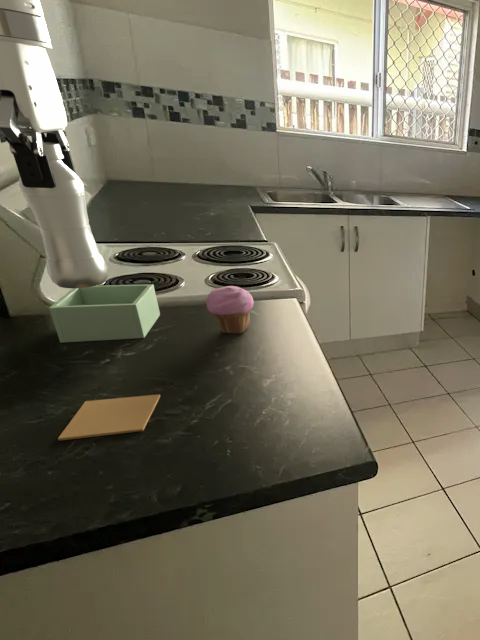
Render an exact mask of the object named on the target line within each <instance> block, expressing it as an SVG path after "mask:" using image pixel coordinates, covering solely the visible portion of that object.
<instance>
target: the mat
mask: <svg viewBox="0 0 480 640" xmlns="http://www.w3.org/2000/svg"><path fill="white" fill-rule="evenodd" d="M160 398H161V394H160V393H159V394H150V395H149V394H148V395H140V396H128V397H117V398H106V399H94V400H85V401H84V403H83V404H81V406H80V408H79V409H78V411H77V412H76V414H75V415H74V416H73V417H72V419H71V420H70V422H69V423H68V424H67V425H66V427H65V428H64V429H63V430H62V432H61V433H60V435H59V436H58V438H57V441H58V442H59V441H68V440H77V439H78V440H79V439H86V438H95V437H103V436H112V435H120V434H127V433H137V432H144V430H145V429H146V426H147V424H148V422H149V420H150V418H151V416H152V414H153V413H154V411H155V408H156V406H157V404H158V403H159V400H160Z"/></svg>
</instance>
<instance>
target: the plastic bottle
mask: <svg viewBox="0 0 480 640" xmlns="http://www.w3.org/2000/svg"><path fill="white" fill-rule="evenodd" d="M42 148H43V155H44V156H48V159H49V162H50V166H51V169H52V172H53V176H54V179H55V183H56V187H54V188H29V187H25V186H24V185H23V184H22V180H21V177H20V176H19V178H18V186H19V189H20V192H21V193H22V195H23V197H24V199H25V200H26V204H27V205H28V206H29V208H30V210H31V212H32V214H33V217H34V220H35V222H36V224H37V225H38V229H39V231H40V235H41V239H42V243H43V248H44V253H45V259H46V260H45V265H46V271H47V274H48V276H49V278H50V280H51V281H52V283H53V284H55V285H56V286H58V287H59V288H62V289H73V288H85V287H92V286H101V285H102V284H104V283H105V282H106V281H107V279H108V277H109V273H108V271H109V270H108V269H109V268H108V266H107V263H106V261H105V259H104V257H103V255H102V254H101V253H100V249H99V247H98V245H97V243H96V240H95V237H94V235H93V233H92V228H91V224H90V223H89V222H90V219H89V214H88V209H87V199H86V190H85V185H84V183H83V181H82V179H81V178H80V177H79V176H78V175H77V173H76V174H75V173H74V172H73V171H72V170H71V169H69V168H68V167H67V166H66V165H65V164H64V163H63V162H62V160H61V159H62V158H64V156H63V154H62V152H61V148H60V145H59V144H58V143H48V142H42Z"/></svg>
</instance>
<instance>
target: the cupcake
mask: <svg viewBox="0 0 480 640" xmlns="http://www.w3.org/2000/svg"><path fill="white" fill-rule="evenodd" d="M254 302H255V301H254V298H253V296H252V294H250V292H249V291H248V290H245V288H241V287H240V286H235V285H226V286H223V287H218V288H214V289H213V290H212V291H210V292H209V293H208V295H207V297H206V309H207V310H208V311H209V313H211V314H212V315H213V317H214V318H215V320H216V322H217V324H218V327H219V329H220V331H221V332H223V333H225V334H242V333H244V332H245V330H246V329H247V328H248V327H249V326H250V321H251V318H250V312H251V310H252V309H253V307H254V304H255V303H254Z"/></svg>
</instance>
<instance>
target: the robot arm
mask: <svg viewBox="0 0 480 640" xmlns="http://www.w3.org/2000/svg"><path fill="white" fill-rule="evenodd" d="M44 15H45V14H44V11H43V7H42V4H41V0H0V132H1V134H3V135H4V137H3V138H4V140H5V141H6V142H7V143H8V144H9V151H10V153H11V154H12V155H13V159H14V162H15V165H16V168H17V171H18V174H19V177H21V180H22V184H23V185H24V186H25V187H29V188H54V187H56V183H55V179H54V176H53V172H52V169H51V166H50V162H49V159H48V156H44V155H43V148H42V142H48V143H58V144H59V145H60V148H61V152H62V154H63V156H64V158H62V159H61V160H62V162H63V163H64V164H65V165H66V166H67V167H68V168H69V169H71V170H72V171H73V172H74V173H75V174H76V175H77V173H76V169H75V165H74V161H73V157H72V154H71V151H70V144H69V142H68V140H67V132H66V131H65V129H66V128H67V127H68V117H67V112H66V109H65V105H64V101H63V97H62V94H61V90H60V87H59V85H58V81H57V78H56V74H55V71H54V70H53V65H52V63H51V61H50V57H49V55H48V53H47V50H52V49H53V46H52V43H51V38H50V35H49V31H48V27H47V23H46V20H45V16H44ZM46 49H47V50H46ZM29 137H31V139H30V138H29Z"/></svg>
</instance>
